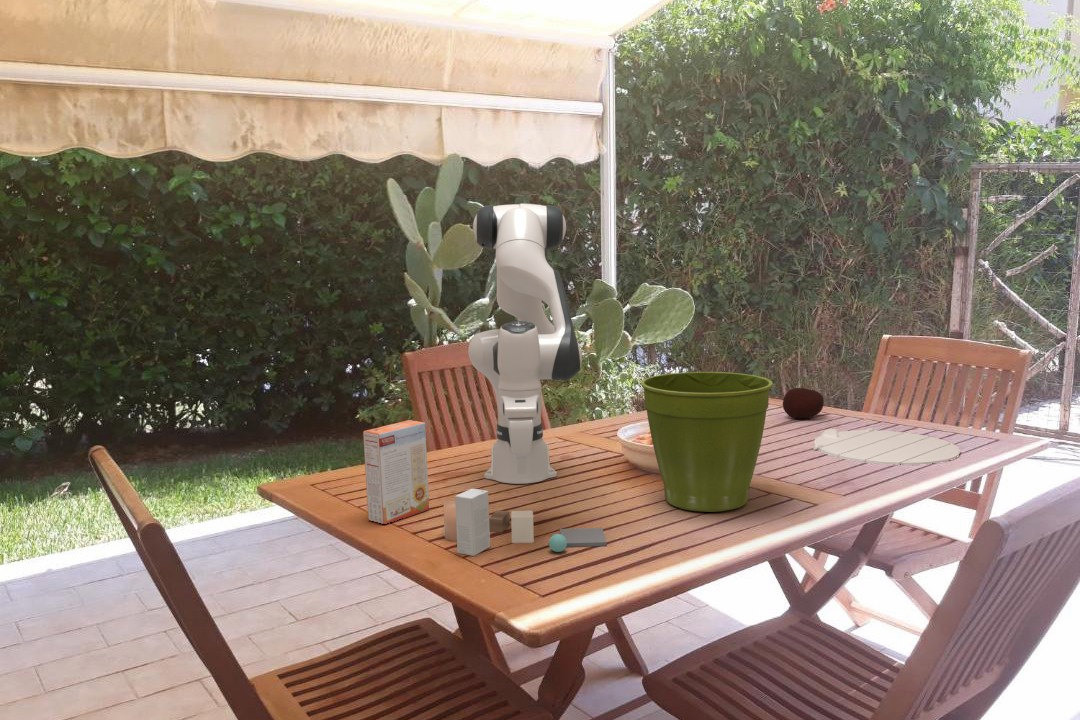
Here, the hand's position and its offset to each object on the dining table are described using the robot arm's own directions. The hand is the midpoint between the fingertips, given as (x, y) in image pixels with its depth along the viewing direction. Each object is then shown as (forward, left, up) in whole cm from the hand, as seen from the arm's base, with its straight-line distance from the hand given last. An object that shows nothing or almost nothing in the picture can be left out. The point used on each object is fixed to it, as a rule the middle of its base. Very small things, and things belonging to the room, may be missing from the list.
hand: (521, 467), depth 191 cm
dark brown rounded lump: (-112, +94, -16) cm, 147 cm away
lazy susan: (-71, +104, -16) cm, 127 cm away
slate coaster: (+1, +12, -15) cm, 20 cm away
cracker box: (-18, -28, -16) cm, 37 cm away
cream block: (0, 0, -16) cm, 15 cm away
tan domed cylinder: (-3, -13, -15) cm, 20 cm away
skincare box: (+6, -10, -16) cm, 19 cm away
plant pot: (-23, +43, -16) cm, 51 cm away
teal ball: (+8, +7, -15) cm, 19 cm away
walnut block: (-8, -5, -16) cm, 18 cm away
